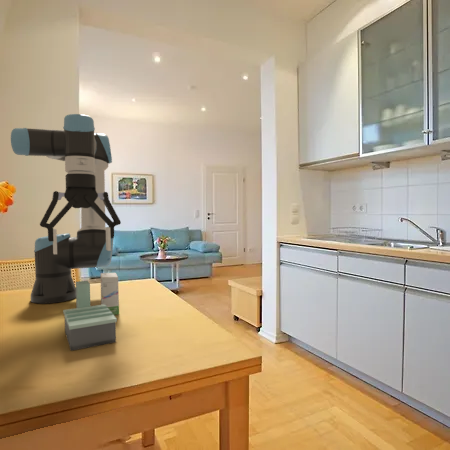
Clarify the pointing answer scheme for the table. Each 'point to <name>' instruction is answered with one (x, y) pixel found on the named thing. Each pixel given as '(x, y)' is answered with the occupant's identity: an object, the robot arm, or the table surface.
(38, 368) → the table surface
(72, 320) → the lid
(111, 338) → the tub
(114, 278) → the ink box
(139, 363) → the table surface
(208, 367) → the table surface
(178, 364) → the table surface
